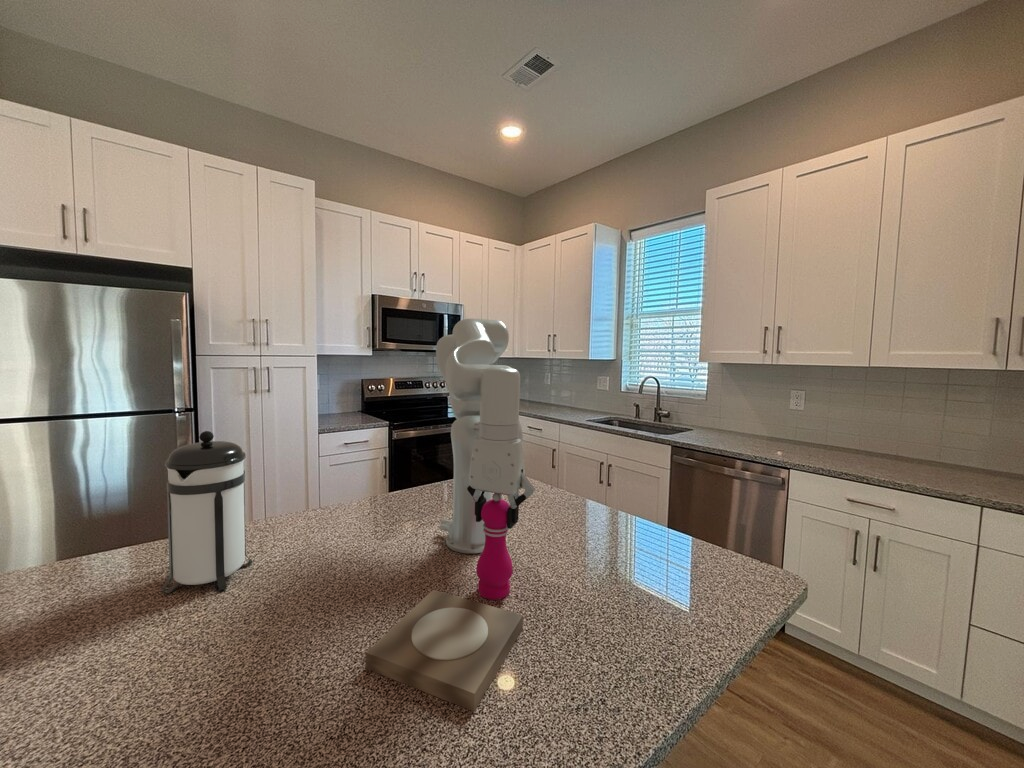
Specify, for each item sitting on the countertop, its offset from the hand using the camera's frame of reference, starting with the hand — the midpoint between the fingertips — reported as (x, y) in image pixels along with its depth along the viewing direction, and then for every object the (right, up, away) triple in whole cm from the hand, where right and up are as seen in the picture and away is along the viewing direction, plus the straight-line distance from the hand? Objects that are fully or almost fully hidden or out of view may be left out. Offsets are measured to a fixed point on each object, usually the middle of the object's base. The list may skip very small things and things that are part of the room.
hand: (496, 521), depth 81 cm
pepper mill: (-1, -14, +1) cm, 14 cm away
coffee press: (-58, -12, +4) cm, 60 cm away
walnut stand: (-7, -15, -15) cm, 22 cm away
